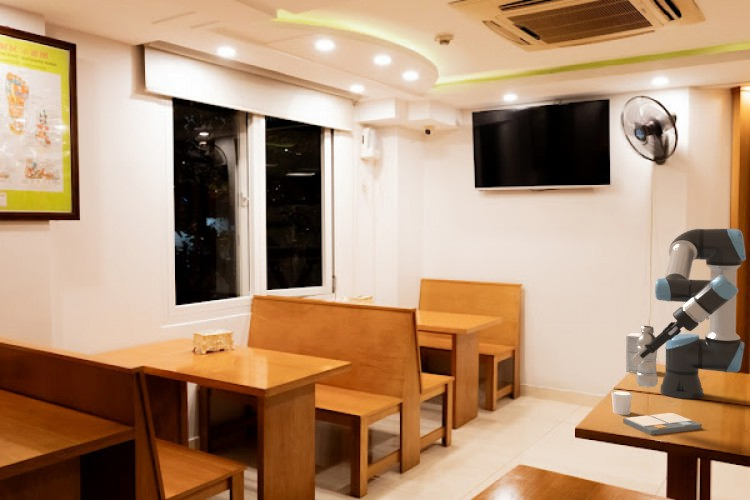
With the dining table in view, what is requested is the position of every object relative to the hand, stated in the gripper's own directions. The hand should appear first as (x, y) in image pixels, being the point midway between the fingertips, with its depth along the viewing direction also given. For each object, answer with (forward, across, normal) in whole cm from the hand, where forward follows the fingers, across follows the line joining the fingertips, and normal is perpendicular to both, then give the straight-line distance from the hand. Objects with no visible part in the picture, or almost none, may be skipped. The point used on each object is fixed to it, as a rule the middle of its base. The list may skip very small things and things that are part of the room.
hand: (635, 360), depth 210 cm
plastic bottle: (+4, 0, -9) cm, 9 cm away
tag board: (+9, +3, -21) cm, 23 cm away
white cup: (+19, +12, -11) cm, 25 cm away
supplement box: (+21, +82, -9) cm, 85 cm away
